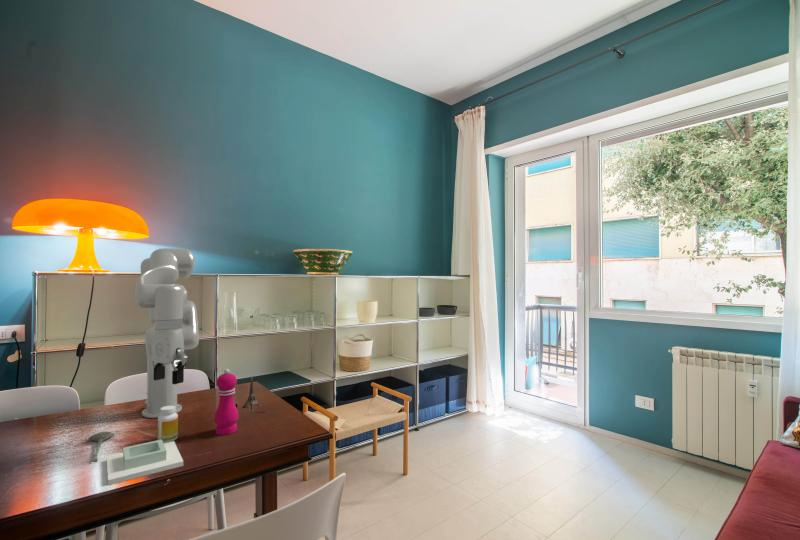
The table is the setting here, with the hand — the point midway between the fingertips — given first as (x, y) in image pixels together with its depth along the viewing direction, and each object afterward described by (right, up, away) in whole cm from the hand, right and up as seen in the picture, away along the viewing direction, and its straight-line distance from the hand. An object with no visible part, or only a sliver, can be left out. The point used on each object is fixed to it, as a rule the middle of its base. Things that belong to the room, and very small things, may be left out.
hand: (168, 381), depth 122 cm
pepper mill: (+15, -18, +6) cm, 24 cm away
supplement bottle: (0, -18, 0) cm, 18 cm away
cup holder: (+3, -18, -15) cm, 23 cm away
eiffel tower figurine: (+14, -19, +29) cm, 37 cm away
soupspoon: (-17, -18, -6) cm, 26 cm away
